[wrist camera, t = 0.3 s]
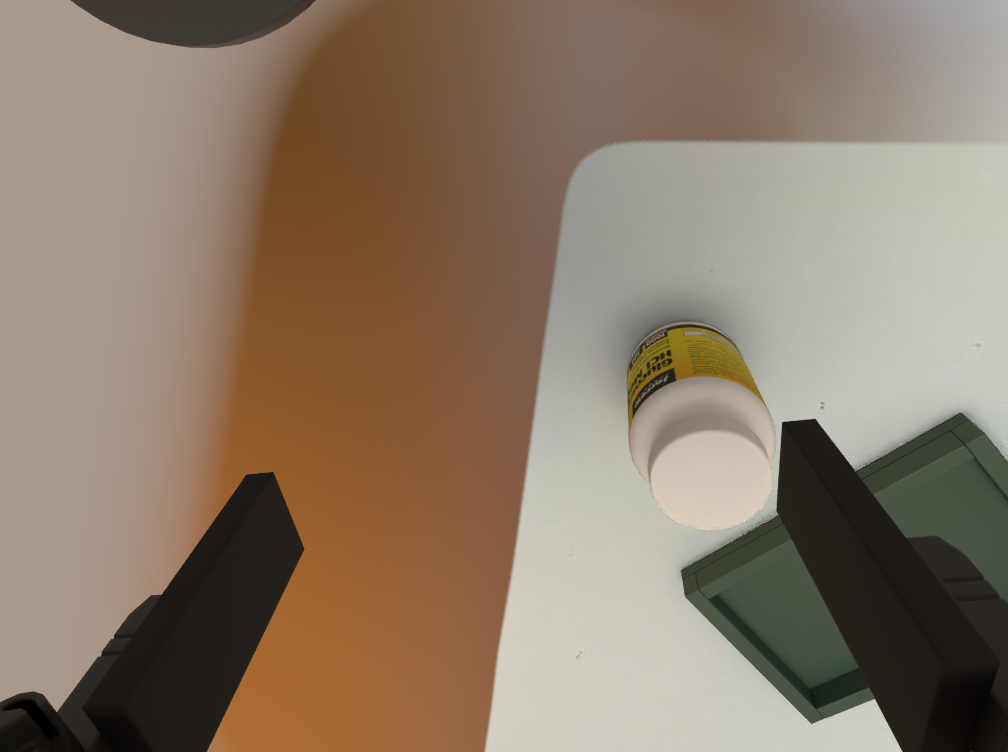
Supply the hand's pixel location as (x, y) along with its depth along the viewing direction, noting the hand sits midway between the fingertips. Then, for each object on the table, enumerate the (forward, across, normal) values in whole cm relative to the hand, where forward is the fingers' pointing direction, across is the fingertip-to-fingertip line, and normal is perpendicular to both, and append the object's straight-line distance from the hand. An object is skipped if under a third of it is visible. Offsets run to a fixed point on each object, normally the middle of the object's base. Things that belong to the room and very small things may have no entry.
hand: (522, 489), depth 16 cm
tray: (+15, +18, -20) cm, 31 cm away
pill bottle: (+18, +8, -7) cm, 21 cm away
